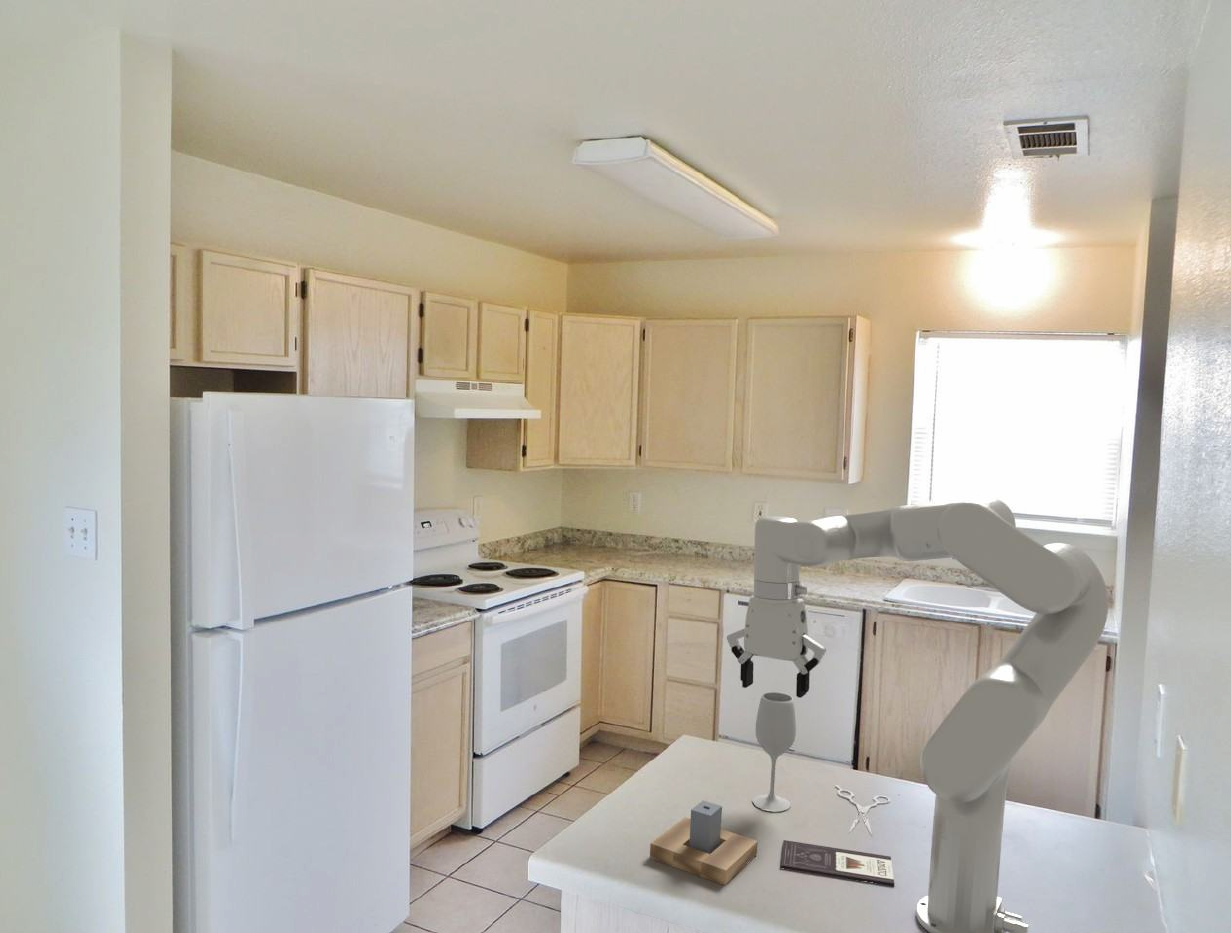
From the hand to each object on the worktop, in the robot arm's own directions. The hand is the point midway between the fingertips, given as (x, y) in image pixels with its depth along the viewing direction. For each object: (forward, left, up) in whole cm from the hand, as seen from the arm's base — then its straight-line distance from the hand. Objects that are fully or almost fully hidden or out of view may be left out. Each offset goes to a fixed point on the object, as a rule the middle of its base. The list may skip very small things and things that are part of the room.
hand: (774, 690), depth 151 cm
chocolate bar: (-11, -4, -29) cm, 31 cm away
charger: (+7, +8, -28) cm, 30 cm away
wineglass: (+7, -18, -28) cm, 34 cm away
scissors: (-9, -26, -29) cm, 40 cm away
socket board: (+8, +8, -28) cm, 30 cm away
